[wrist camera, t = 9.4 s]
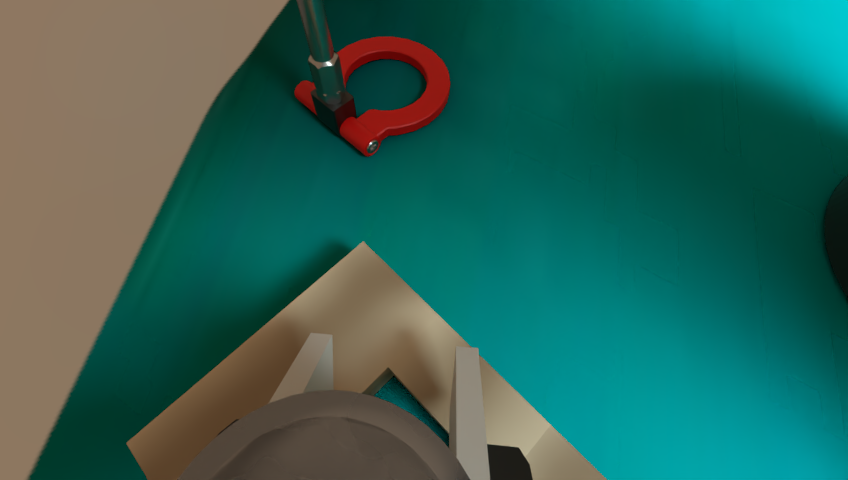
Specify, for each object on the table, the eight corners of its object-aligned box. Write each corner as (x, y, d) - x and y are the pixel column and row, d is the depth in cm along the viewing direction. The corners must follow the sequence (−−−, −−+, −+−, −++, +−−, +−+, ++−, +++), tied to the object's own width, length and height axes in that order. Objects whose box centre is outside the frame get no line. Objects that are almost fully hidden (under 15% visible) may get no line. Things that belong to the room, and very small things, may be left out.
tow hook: (388, 34, 30) (287, 98, 27) (374, -223, 18) (194, -164, 15) (473, 93, 27) (375, 171, 24) (520, -161, 16) (342, -75, 13)
